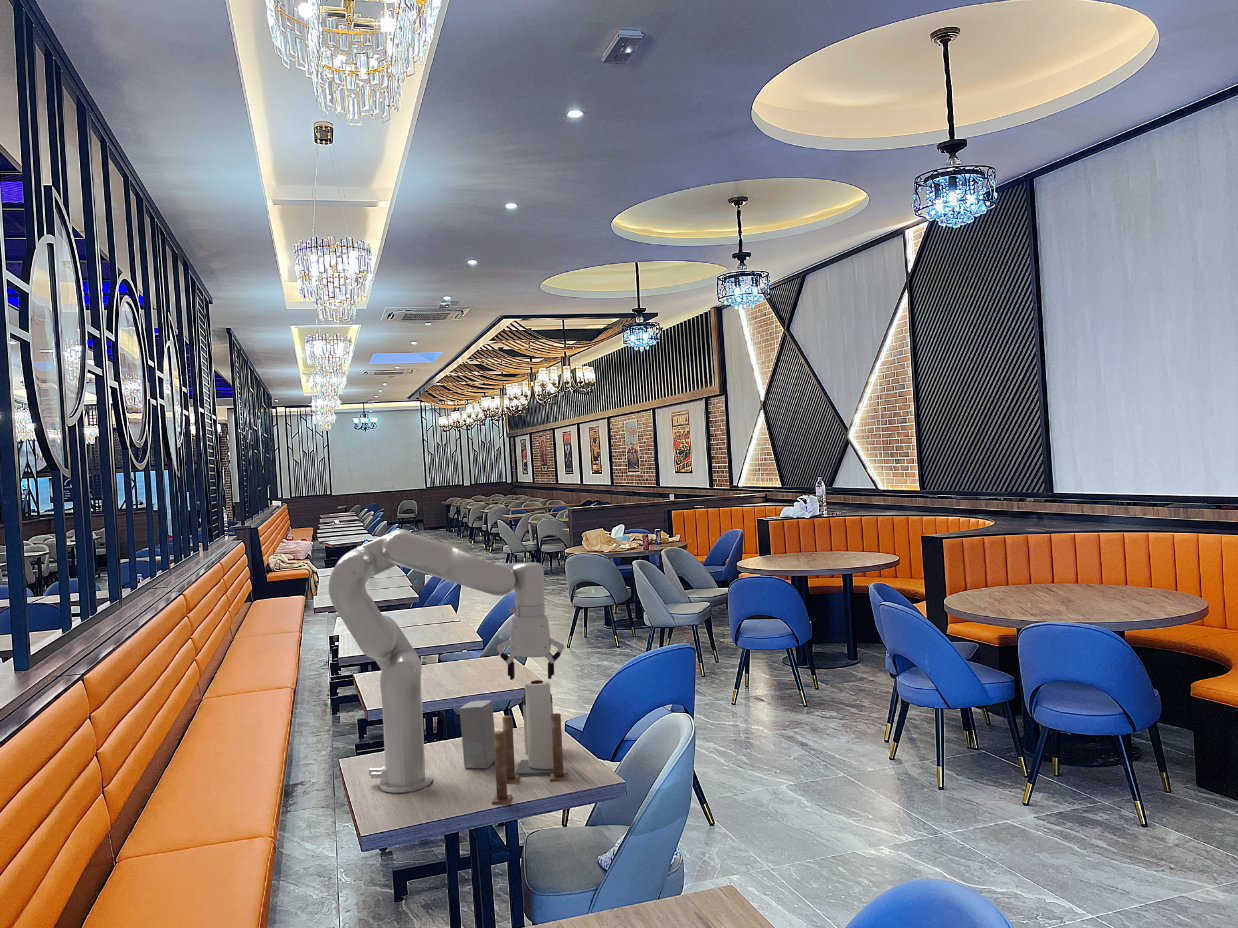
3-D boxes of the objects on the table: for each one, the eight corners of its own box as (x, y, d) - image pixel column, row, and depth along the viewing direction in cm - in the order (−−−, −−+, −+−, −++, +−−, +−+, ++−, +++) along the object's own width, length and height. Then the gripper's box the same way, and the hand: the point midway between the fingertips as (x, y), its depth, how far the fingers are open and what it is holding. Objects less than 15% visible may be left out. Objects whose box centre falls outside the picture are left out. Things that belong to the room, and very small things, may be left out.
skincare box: (487, 769, 219) (484, 707, 219) (460, 768, 220) (457, 707, 221) (498, 758, 227) (495, 698, 227) (472, 757, 229) (470, 698, 229)
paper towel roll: (527, 762, 220) (524, 679, 220) (551, 760, 221) (547, 677, 221) (529, 772, 213) (525, 686, 213) (554, 769, 214) (550, 684, 214)
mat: (515, 776, 213) (515, 773, 213) (521, 762, 223) (520, 759, 223) (555, 774, 212) (555, 771, 212) (559, 760, 222) (559, 757, 222)
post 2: (501, 783, 208) (498, 719, 208) (503, 777, 212) (500, 714, 212) (517, 782, 208) (514, 718, 208) (519, 776, 212) (516, 714, 212)
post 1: (492, 804, 195) (489, 735, 195) (495, 797, 199) (492, 730, 199) (509, 803, 195) (506, 735, 195) (512, 796, 199) (509, 729, 199)
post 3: (550, 781, 208) (546, 717, 208) (551, 775, 212) (548, 712, 212) (566, 780, 208) (563, 716, 208) (567, 774, 212) (564, 711, 212)
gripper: (493, 614, 214) (495, 682, 214) (562, 612, 214) (563, 681, 214) (498, 609, 222) (499, 675, 222) (564, 608, 222) (566, 674, 221)
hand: (531, 678), depth 218 cm, fingers open, 9 cm apart
